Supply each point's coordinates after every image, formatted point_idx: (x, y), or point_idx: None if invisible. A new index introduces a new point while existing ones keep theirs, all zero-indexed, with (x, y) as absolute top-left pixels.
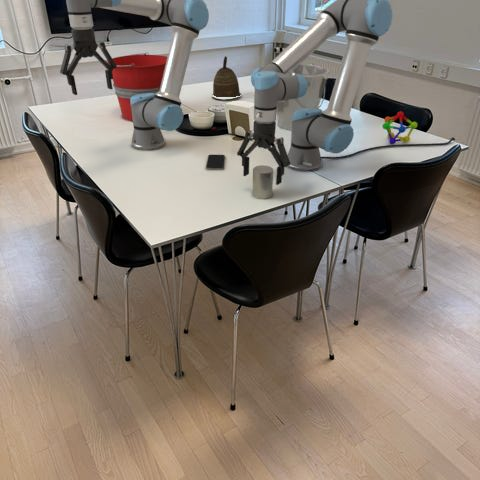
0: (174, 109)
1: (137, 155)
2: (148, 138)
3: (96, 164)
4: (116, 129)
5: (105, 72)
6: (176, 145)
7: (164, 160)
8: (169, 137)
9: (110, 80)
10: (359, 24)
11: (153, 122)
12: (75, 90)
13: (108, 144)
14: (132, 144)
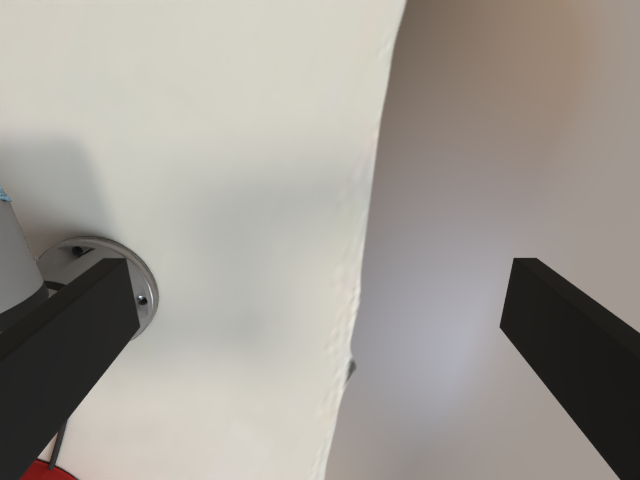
0: None
1: (171, 224)
2: (88, 265)
3: (319, 235)
4: (151, 453)
5: (14, 476)
6: None
7: (98, 118)
8: None
9: (45, 308)
10: None
11: (9, 222)
12: (555, 278)
13: (219, 362)
14: (154, 302)
